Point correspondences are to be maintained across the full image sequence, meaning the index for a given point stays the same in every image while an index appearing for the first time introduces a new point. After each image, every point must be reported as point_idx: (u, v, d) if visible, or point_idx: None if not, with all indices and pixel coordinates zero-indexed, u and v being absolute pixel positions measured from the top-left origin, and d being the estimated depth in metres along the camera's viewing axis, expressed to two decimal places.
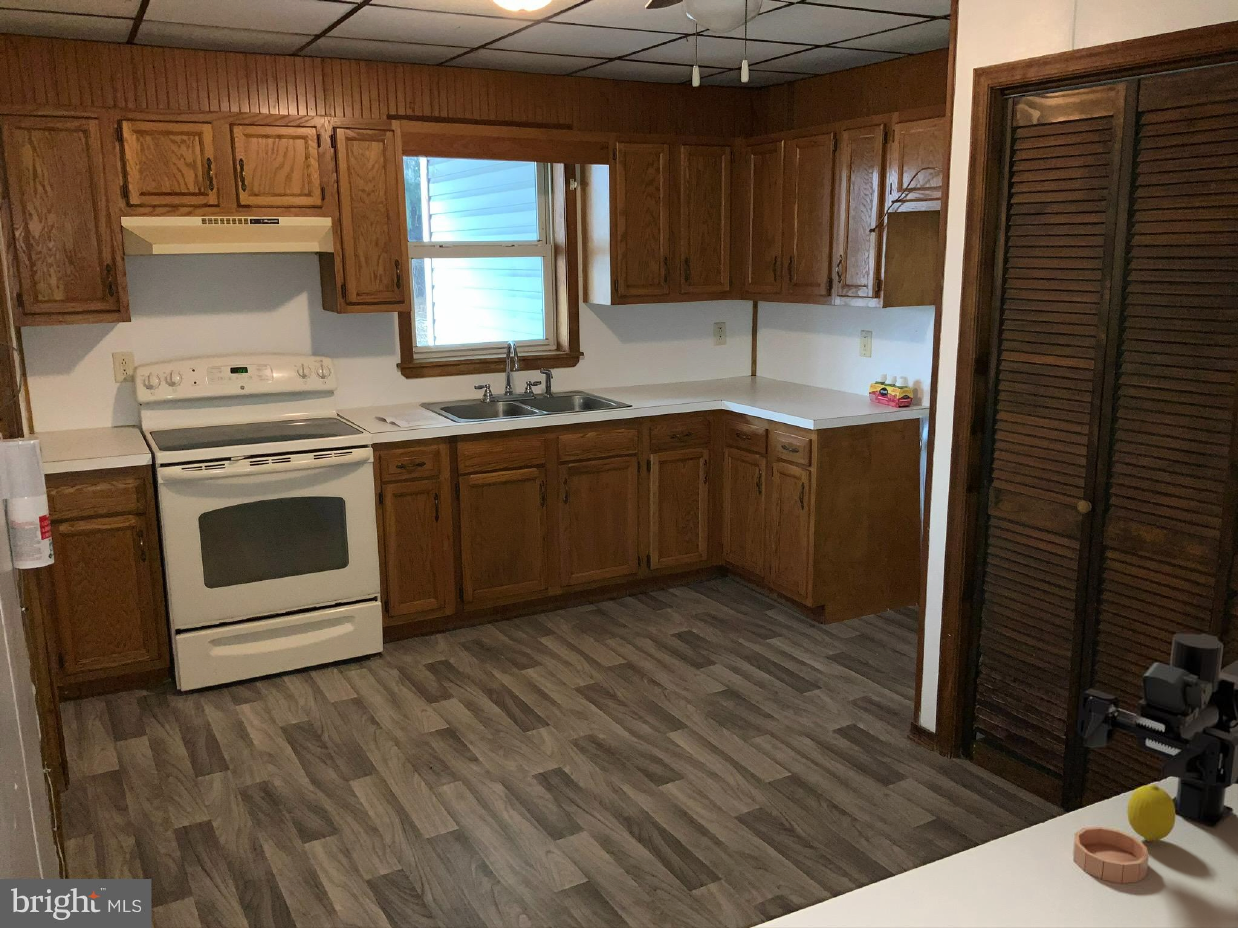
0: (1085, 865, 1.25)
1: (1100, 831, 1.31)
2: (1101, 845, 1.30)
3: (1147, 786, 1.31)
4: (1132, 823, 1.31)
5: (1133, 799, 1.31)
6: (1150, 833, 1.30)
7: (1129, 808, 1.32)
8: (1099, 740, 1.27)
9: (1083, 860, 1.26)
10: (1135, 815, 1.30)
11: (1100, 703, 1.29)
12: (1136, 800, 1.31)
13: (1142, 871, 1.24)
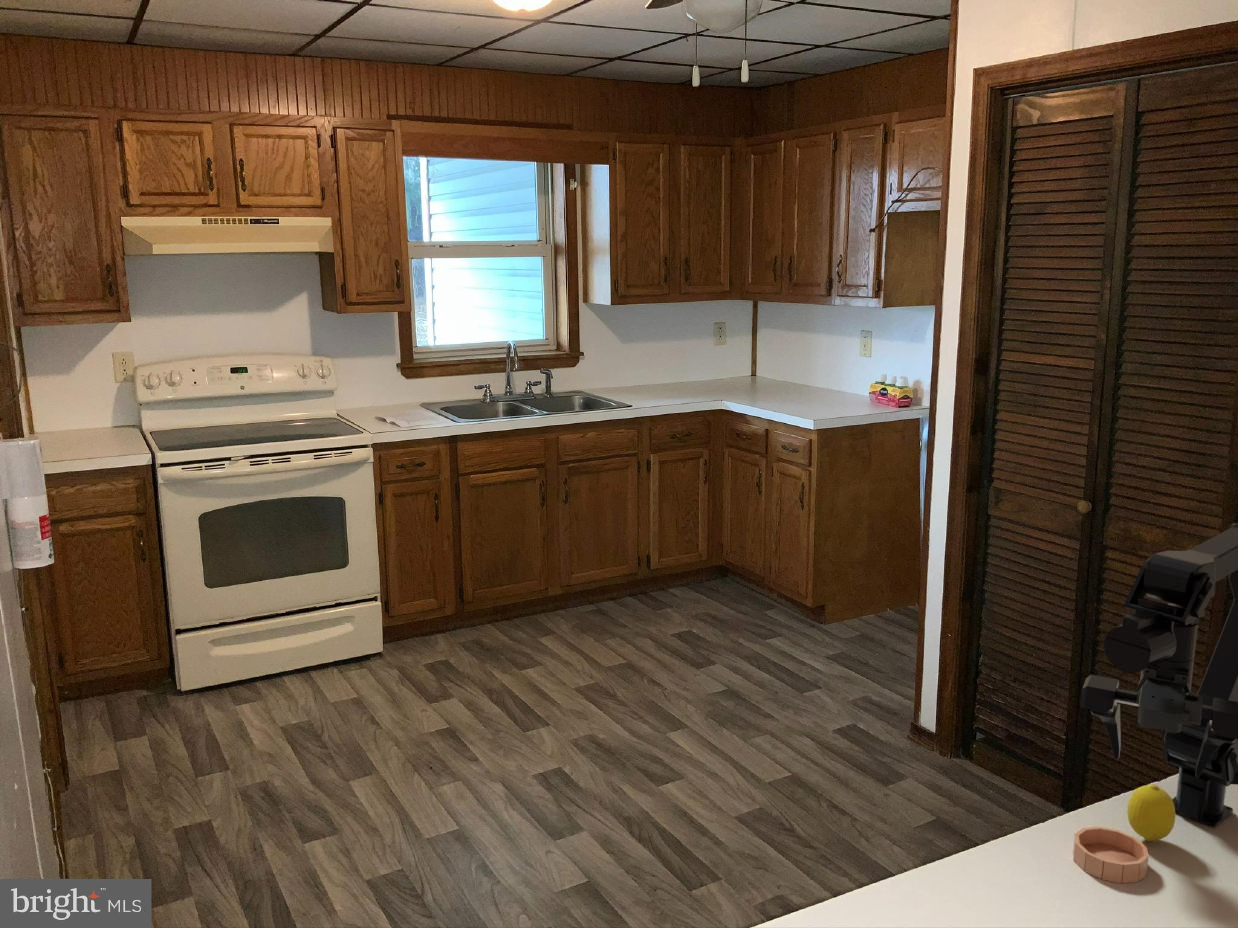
0: (1085, 865, 1.25)
1: (1100, 831, 1.31)
2: (1101, 845, 1.30)
3: (1147, 786, 1.31)
4: (1132, 823, 1.31)
5: (1133, 799, 1.31)
6: (1150, 833, 1.30)
7: (1129, 808, 1.32)
8: (1119, 724, 1.33)
9: (1083, 860, 1.26)
10: (1135, 815, 1.30)
11: (1106, 717, 1.30)
12: (1136, 800, 1.31)
13: (1142, 871, 1.24)
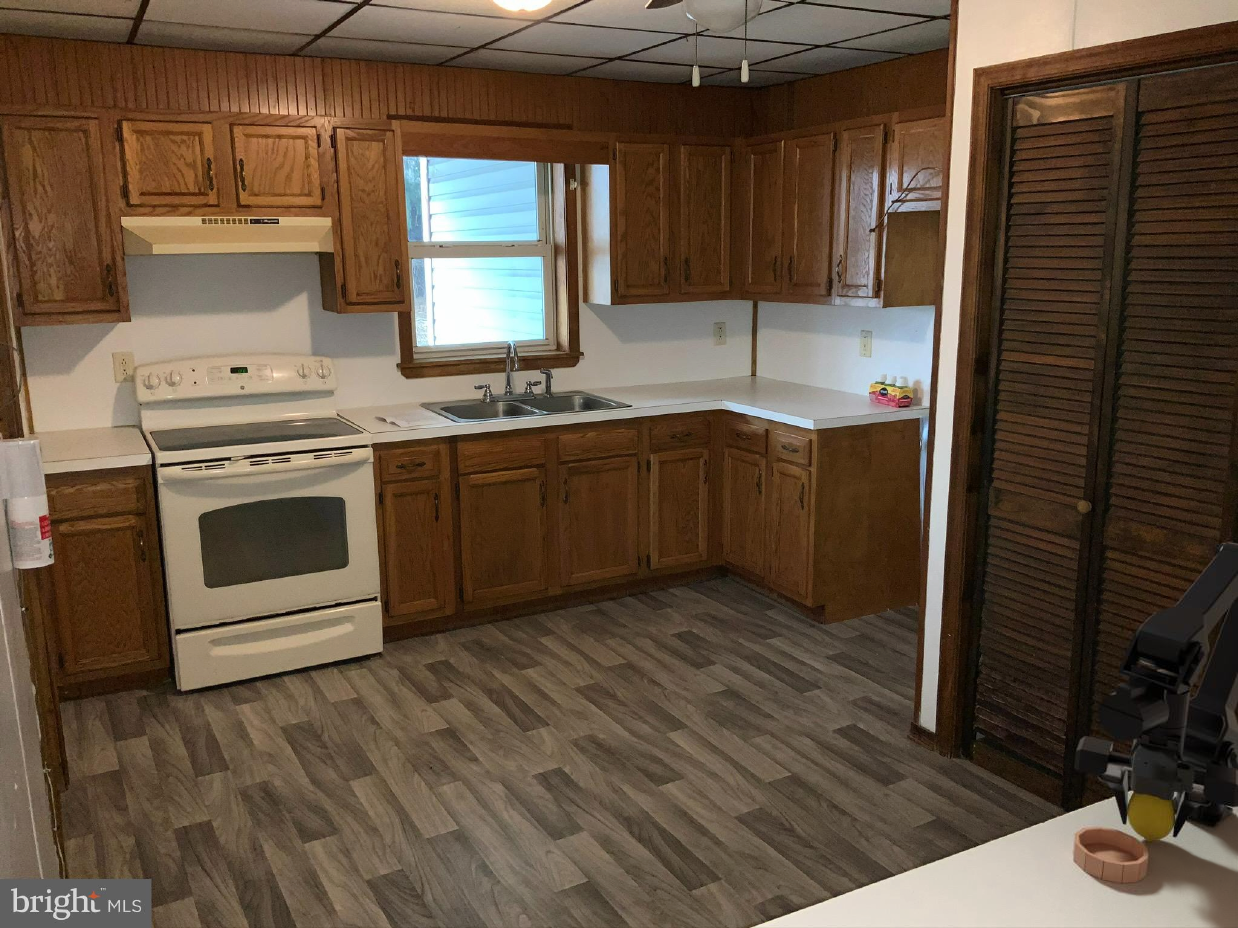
0: (1085, 865, 1.25)
1: (1100, 831, 1.31)
2: (1101, 845, 1.30)
3: None
4: (1132, 823, 1.31)
5: (1133, 799, 1.31)
6: (1150, 833, 1.30)
7: (1129, 808, 1.32)
8: (1127, 789, 1.34)
9: (1083, 860, 1.26)
10: (1135, 815, 1.30)
11: (1114, 783, 1.31)
12: (1136, 800, 1.31)
13: (1142, 871, 1.24)
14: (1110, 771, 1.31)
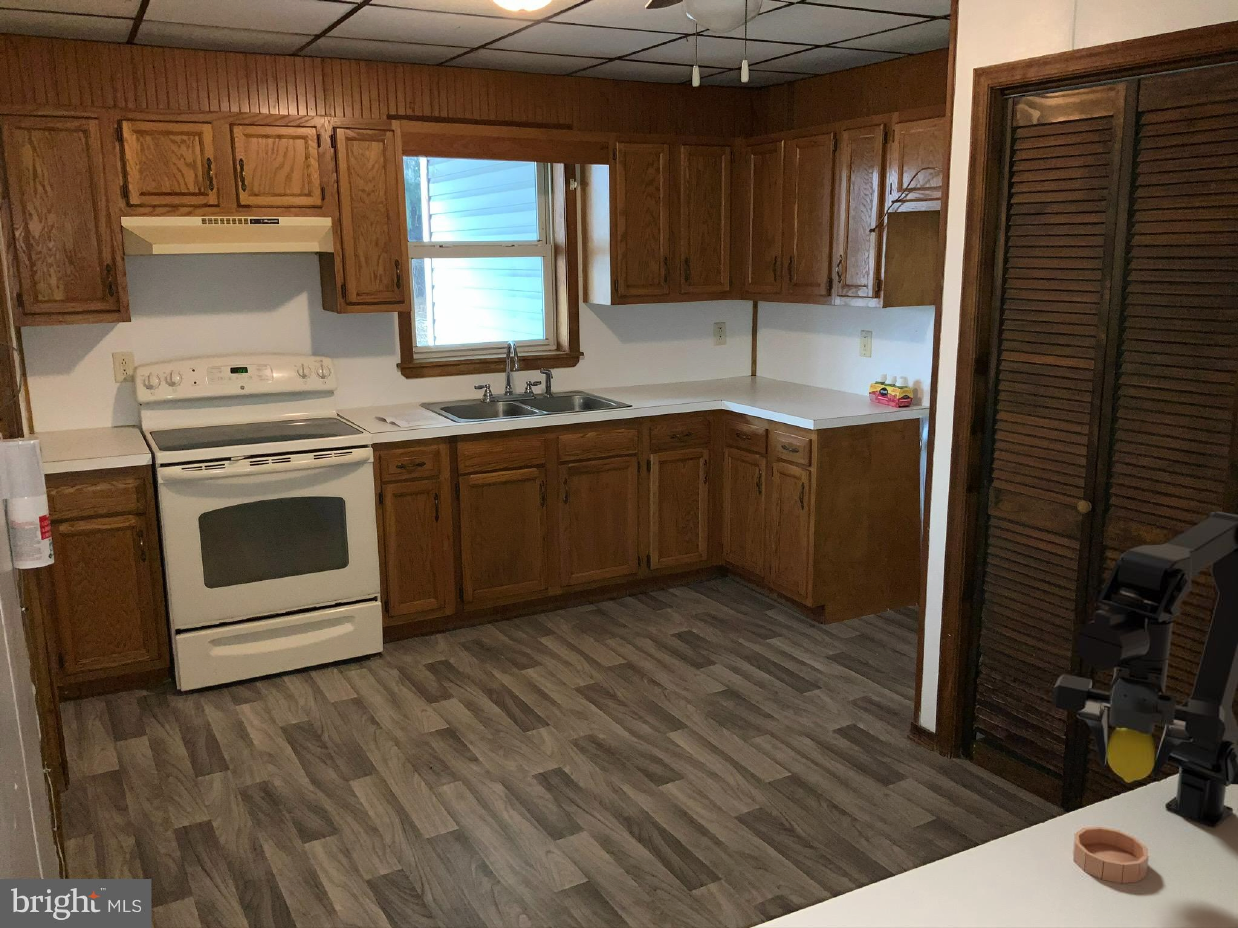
0: (1085, 865, 1.25)
1: (1100, 831, 1.31)
2: (1101, 845, 1.30)
3: None
4: (1111, 763, 1.26)
5: (1112, 737, 1.26)
6: (1129, 773, 1.24)
7: (1108, 747, 1.26)
8: (1106, 729, 1.28)
9: (1083, 860, 1.26)
10: (1114, 753, 1.25)
11: (1092, 721, 1.25)
12: (1116, 738, 1.25)
13: (1142, 871, 1.24)
14: (1089, 708, 1.26)
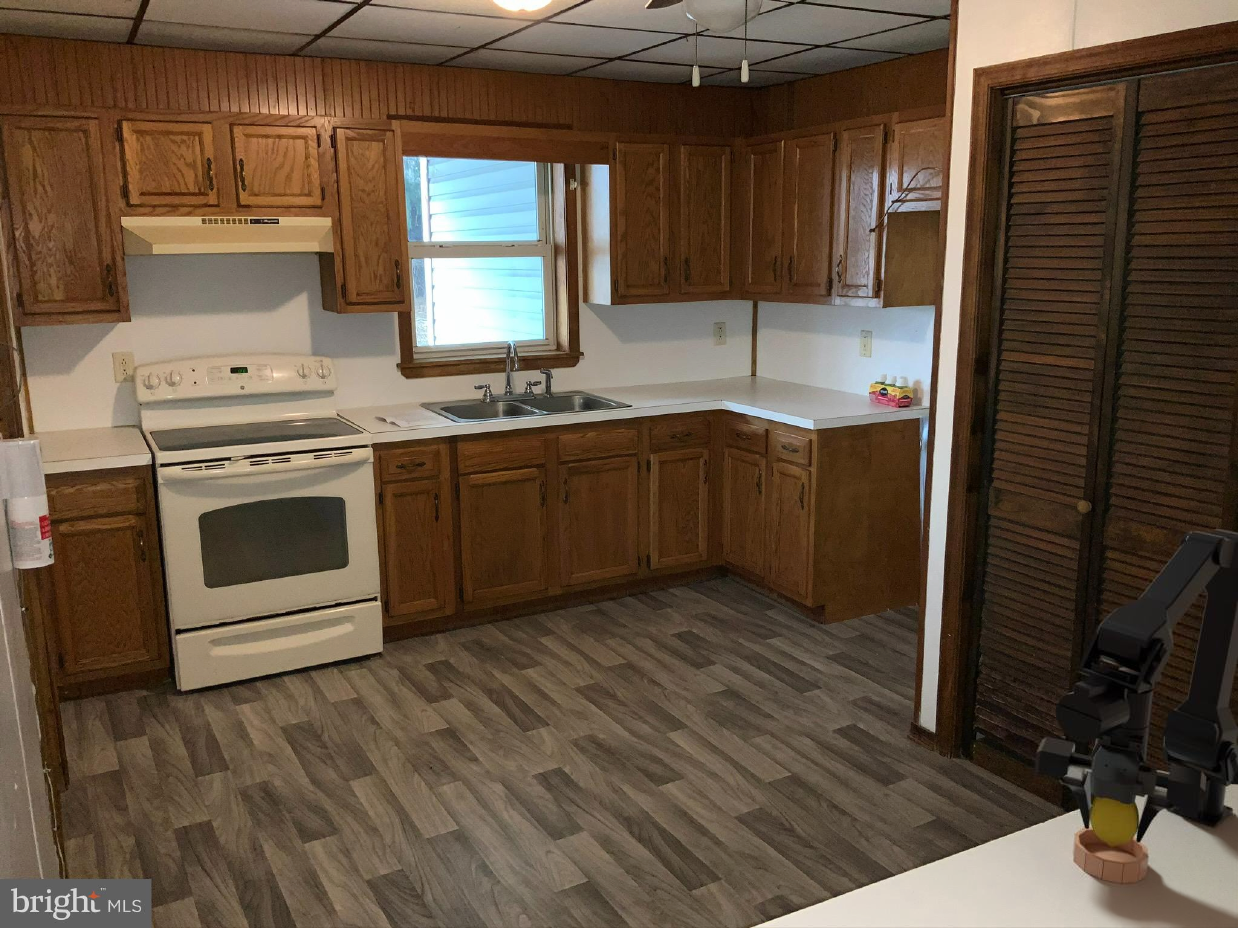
0: (1085, 865, 1.25)
1: None
2: (1101, 845, 1.30)
3: None
4: (1094, 827, 1.26)
5: (1095, 802, 1.26)
6: (1112, 838, 1.24)
7: (1091, 812, 1.26)
8: (1089, 792, 1.28)
9: (1083, 860, 1.26)
10: (1097, 819, 1.25)
11: (1075, 786, 1.25)
12: (1098, 803, 1.25)
13: (1142, 871, 1.24)
14: (1071, 773, 1.26)
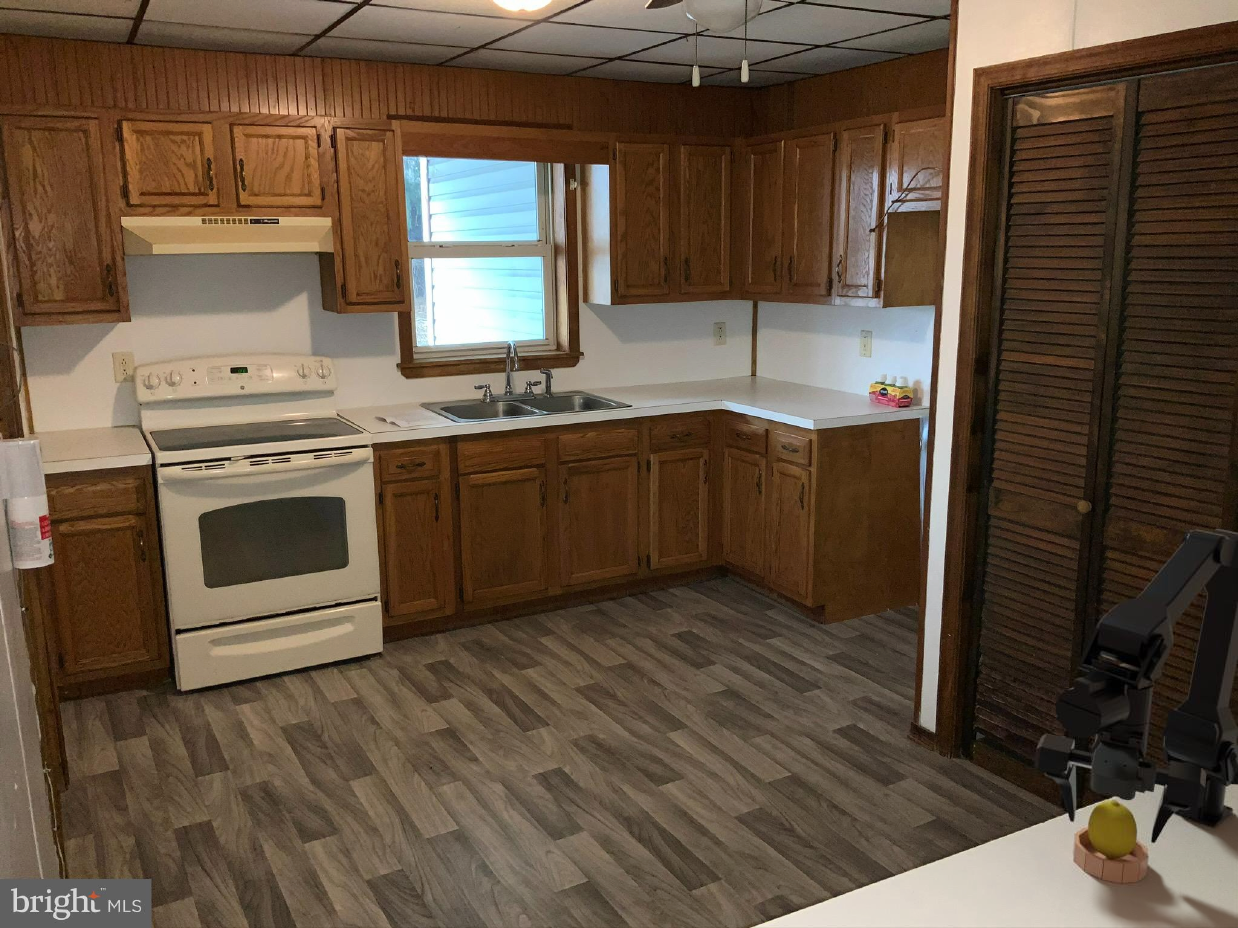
0: (1085, 865, 1.25)
1: None
2: None
3: (1107, 802, 1.26)
4: (1093, 841, 1.26)
5: (1093, 816, 1.26)
6: (1110, 851, 1.25)
7: (1089, 825, 1.27)
8: (1075, 785, 1.29)
9: (1083, 860, 1.26)
10: (1095, 832, 1.25)
11: (1060, 779, 1.26)
12: (1096, 816, 1.26)
13: (1142, 871, 1.24)
14: None
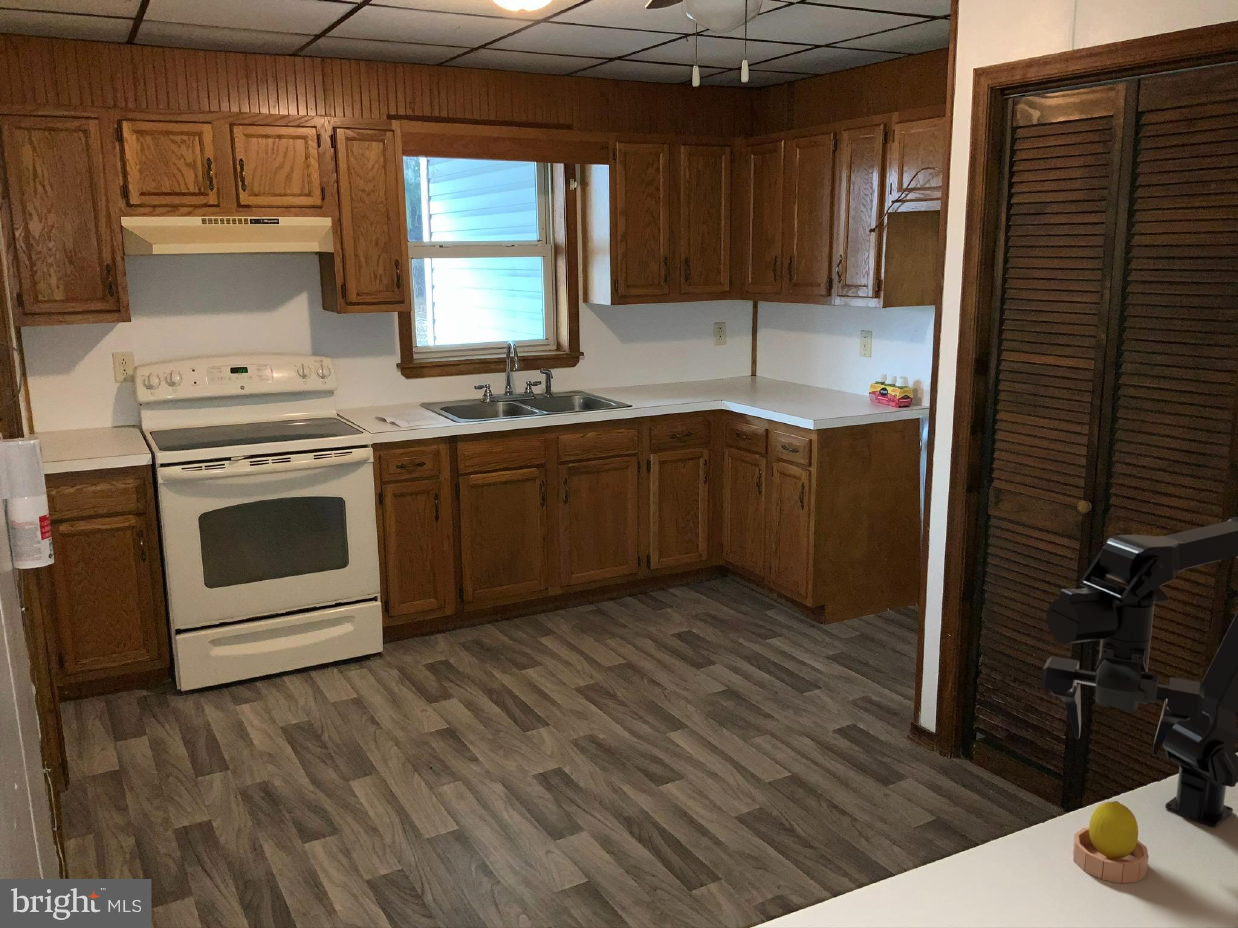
0: (1085, 865, 1.25)
1: None
2: None
3: (1109, 803, 1.26)
4: (1093, 841, 1.26)
5: (1094, 816, 1.26)
6: (1111, 852, 1.25)
7: (1090, 825, 1.27)
8: (1079, 704, 1.35)
9: (1083, 860, 1.26)
10: (1096, 832, 1.25)
11: (1066, 697, 1.33)
12: (1098, 817, 1.26)
13: (1142, 871, 1.24)
14: None
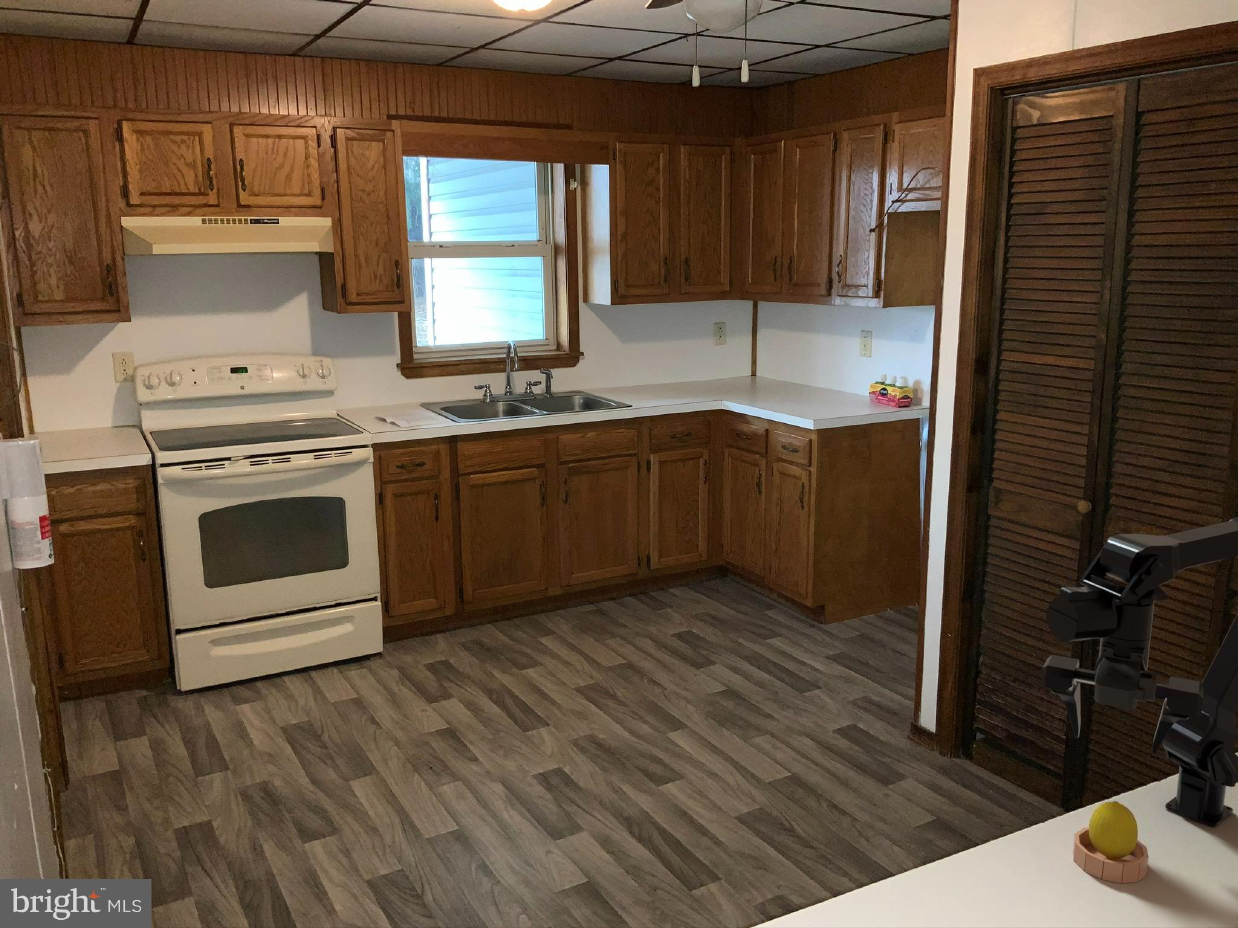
0: (1085, 865, 1.25)
1: None
2: None
3: (1109, 803, 1.26)
4: (1093, 841, 1.26)
5: (1094, 816, 1.26)
6: (1111, 852, 1.25)
7: (1090, 826, 1.27)
8: (1079, 703, 1.36)
9: (1083, 860, 1.26)
10: (1096, 833, 1.25)
11: (1065, 696, 1.33)
12: (1097, 817, 1.26)
13: (1142, 871, 1.24)
14: None
